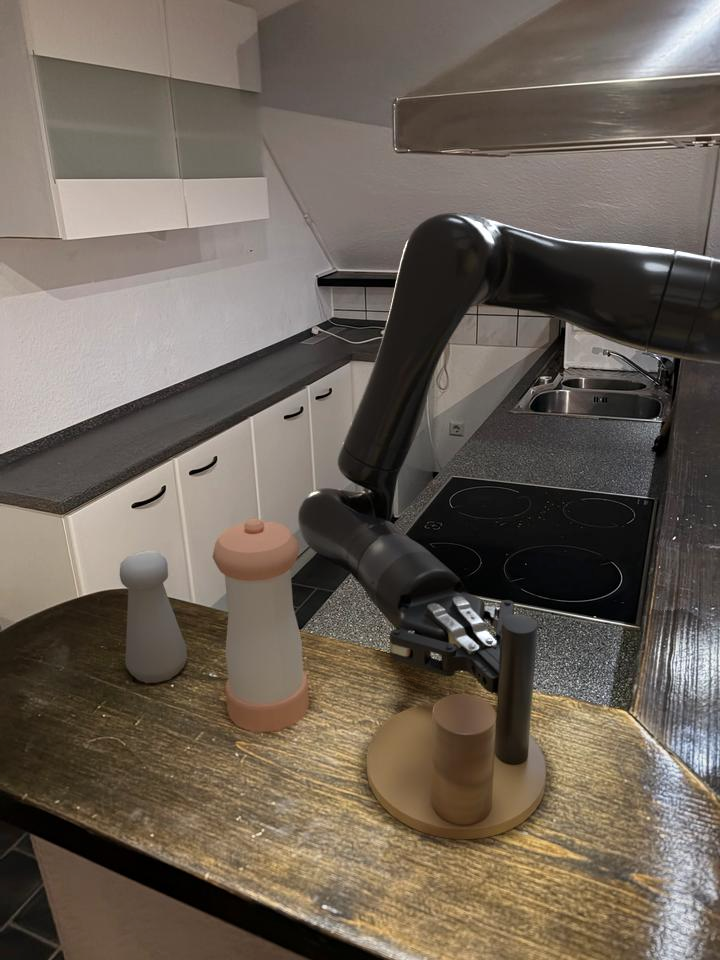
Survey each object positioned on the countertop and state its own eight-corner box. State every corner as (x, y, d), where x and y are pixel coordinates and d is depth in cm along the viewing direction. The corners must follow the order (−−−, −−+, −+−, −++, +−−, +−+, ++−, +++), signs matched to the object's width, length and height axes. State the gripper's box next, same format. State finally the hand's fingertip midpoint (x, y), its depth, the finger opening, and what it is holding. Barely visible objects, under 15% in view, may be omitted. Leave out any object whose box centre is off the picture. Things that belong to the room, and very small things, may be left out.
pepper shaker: (322, 698, 70) (313, 509, 63) (287, 750, 64) (272, 546, 57) (253, 681, 73) (237, 498, 66) (212, 730, 67) (190, 532, 60)
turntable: (516, 704, 67) (525, 575, 63) (571, 830, 54) (587, 678, 50) (359, 717, 66) (355, 586, 62) (377, 848, 53) (374, 695, 49)
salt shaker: (146, 656, 77) (128, 541, 73) (198, 661, 76) (185, 545, 71) (117, 691, 72) (97, 570, 67) (174, 698, 71) (157, 575, 66)
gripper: (345, 565, 71) (436, 668, 56) (468, 537, 75) (582, 625, 61) (347, 634, 73) (435, 749, 59) (466, 603, 78) (574, 702, 63)
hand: (510, 686), depth 60 cm, fingers closed
